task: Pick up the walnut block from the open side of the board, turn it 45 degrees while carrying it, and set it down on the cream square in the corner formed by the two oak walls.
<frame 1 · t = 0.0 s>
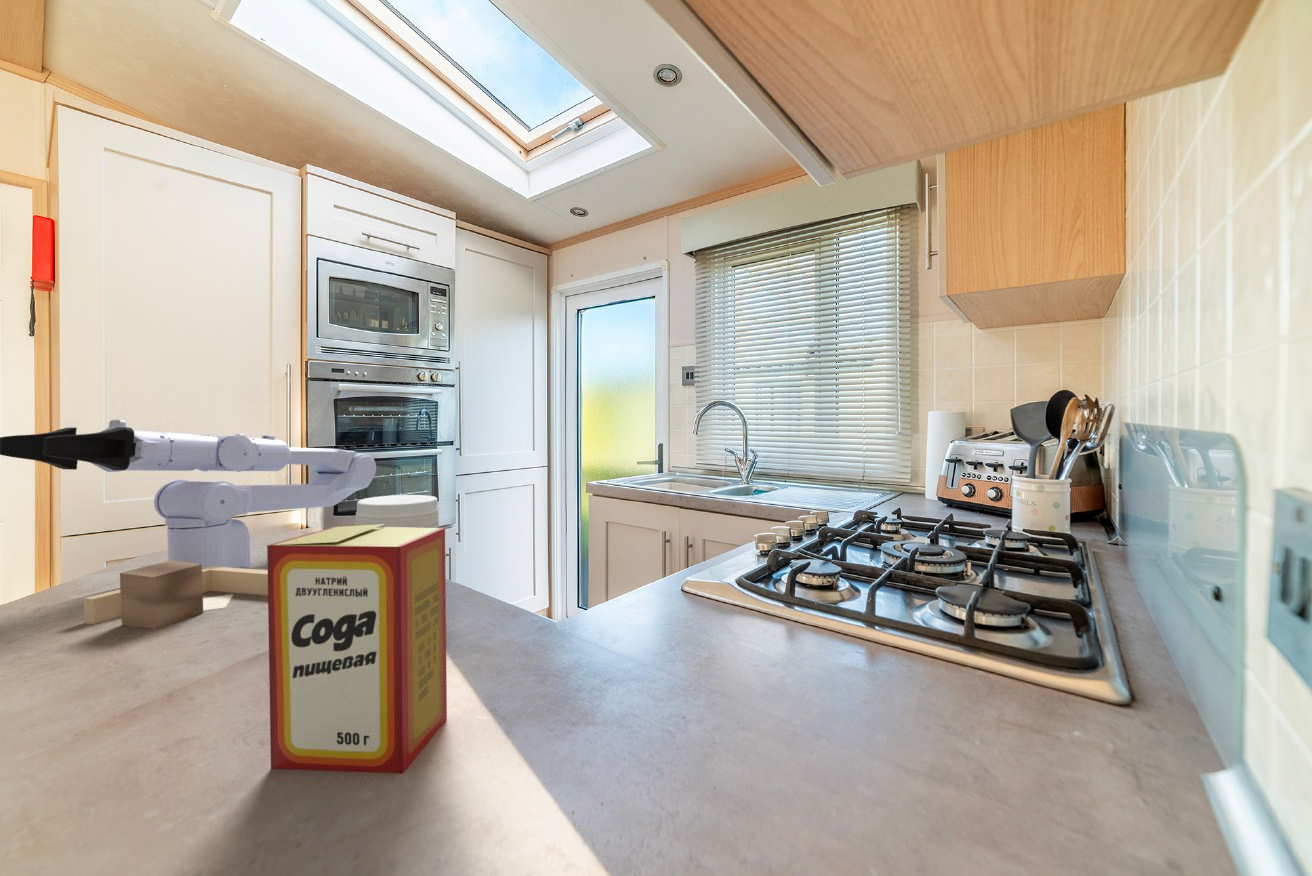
hand: (22, 445, 61), 22 cm above the countertop, tool horizontal, fingers open, 7 cm apart
baking soda box: (365, 744, 39), on the countertop
supplement tub: (398, 614, 66), on the countertop
corner board: (213, 619, 64), on the countertop
walnut block: (163, 618, 60), point 1 cm above the countertop, touching corner board
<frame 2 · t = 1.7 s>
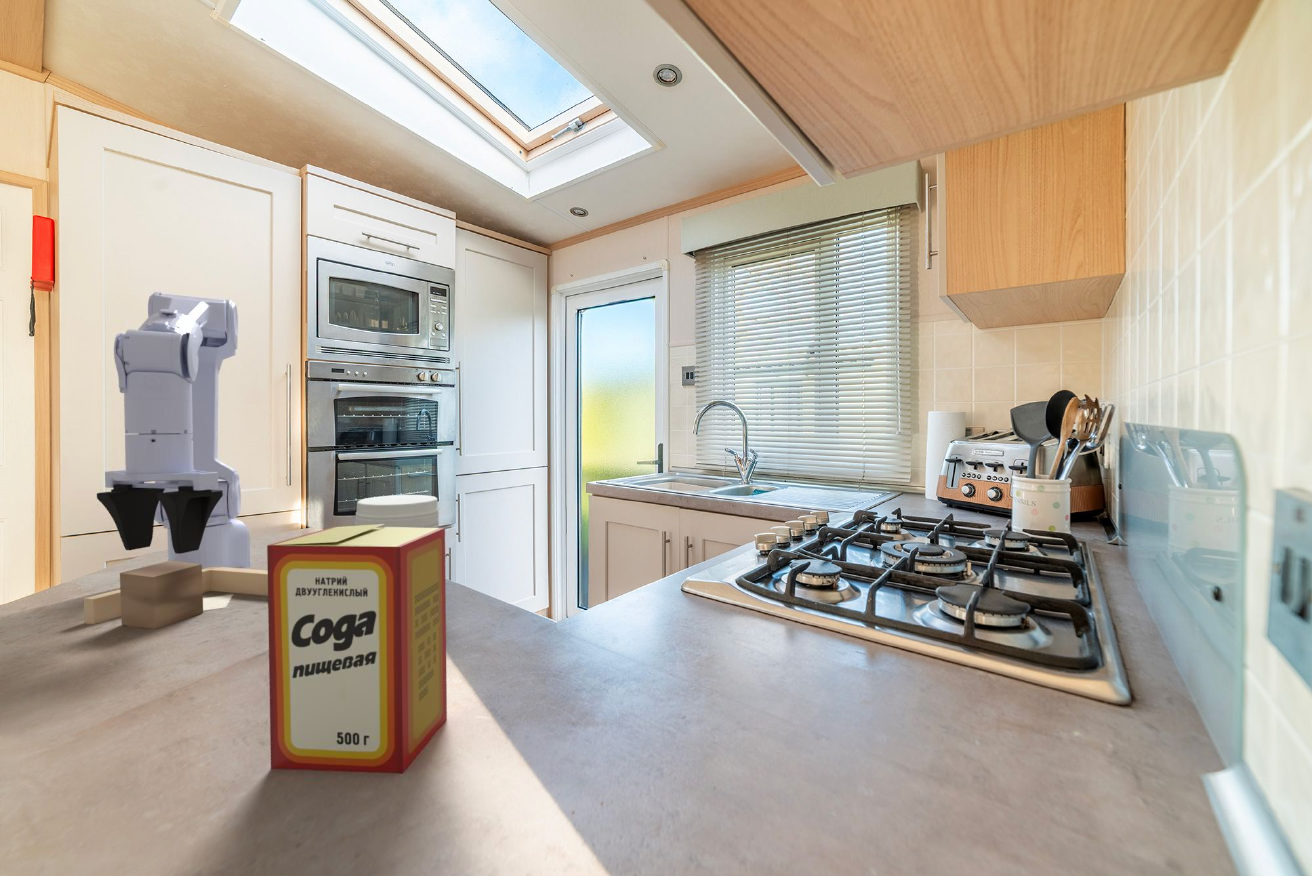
hand: (162, 550, 60), 9 cm above the countertop, tool pointing down, fingers open, 7 cm apart
nothing on the countertop moved.
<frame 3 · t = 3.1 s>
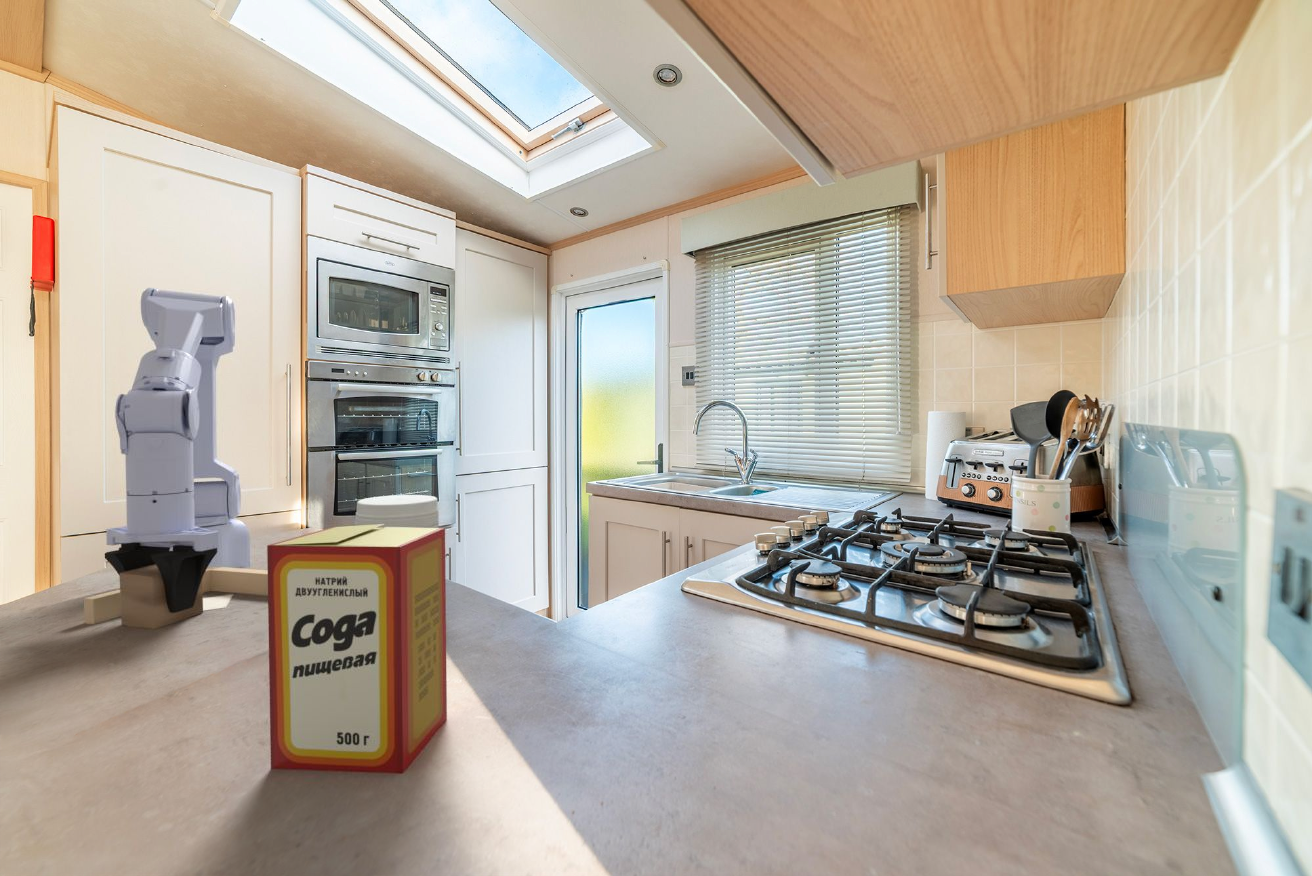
hand: (163, 608, 60), 3 cm above the countertop, tool pointing down, fingers closed on walnut block, 5 cm apart
walnut block: (163, 618, 60), point 1 cm above the countertop, touching corner board, gripper
everything else where it was.
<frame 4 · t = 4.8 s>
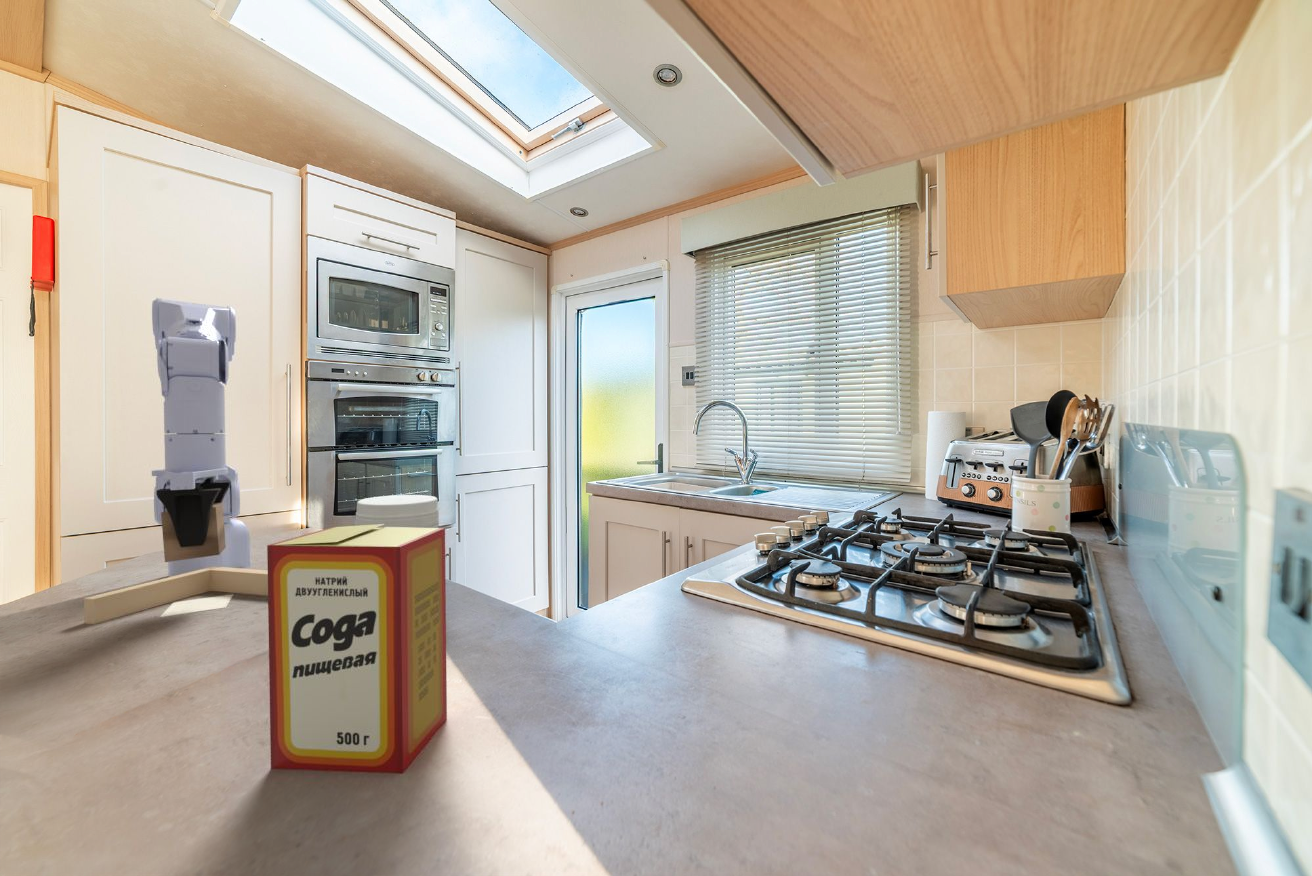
hand: (197, 541, 65), 9 cm above the countertop, tool pointing down, fingers closed on walnut block, 5 cm apart
walnut block: (197, 554, 65), point 8 cm above the countertop, touching gripper
everything else where it was.
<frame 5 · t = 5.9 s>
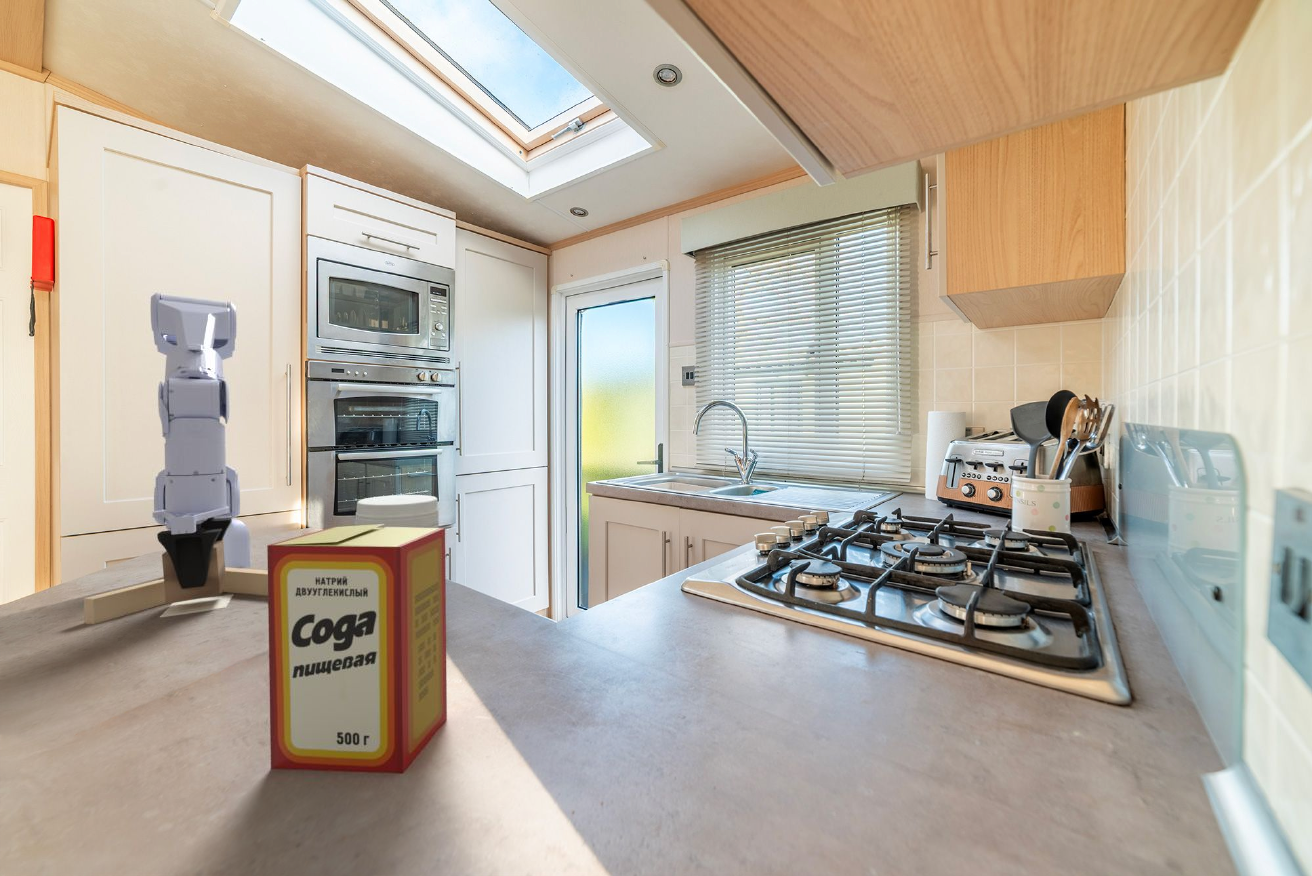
hand: (198, 581, 65), 4 cm above the countertop, tool pointing down, fingers closed on walnut block, 5 cm apart
walnut block: (197, 594, 65), point 3 cm above the countertop, touching gripper
everything else where it was.
when the fingers open (4 cm above the countertop, at t = 6.6 s): walnut block drops 1 cm, resting on corner board.
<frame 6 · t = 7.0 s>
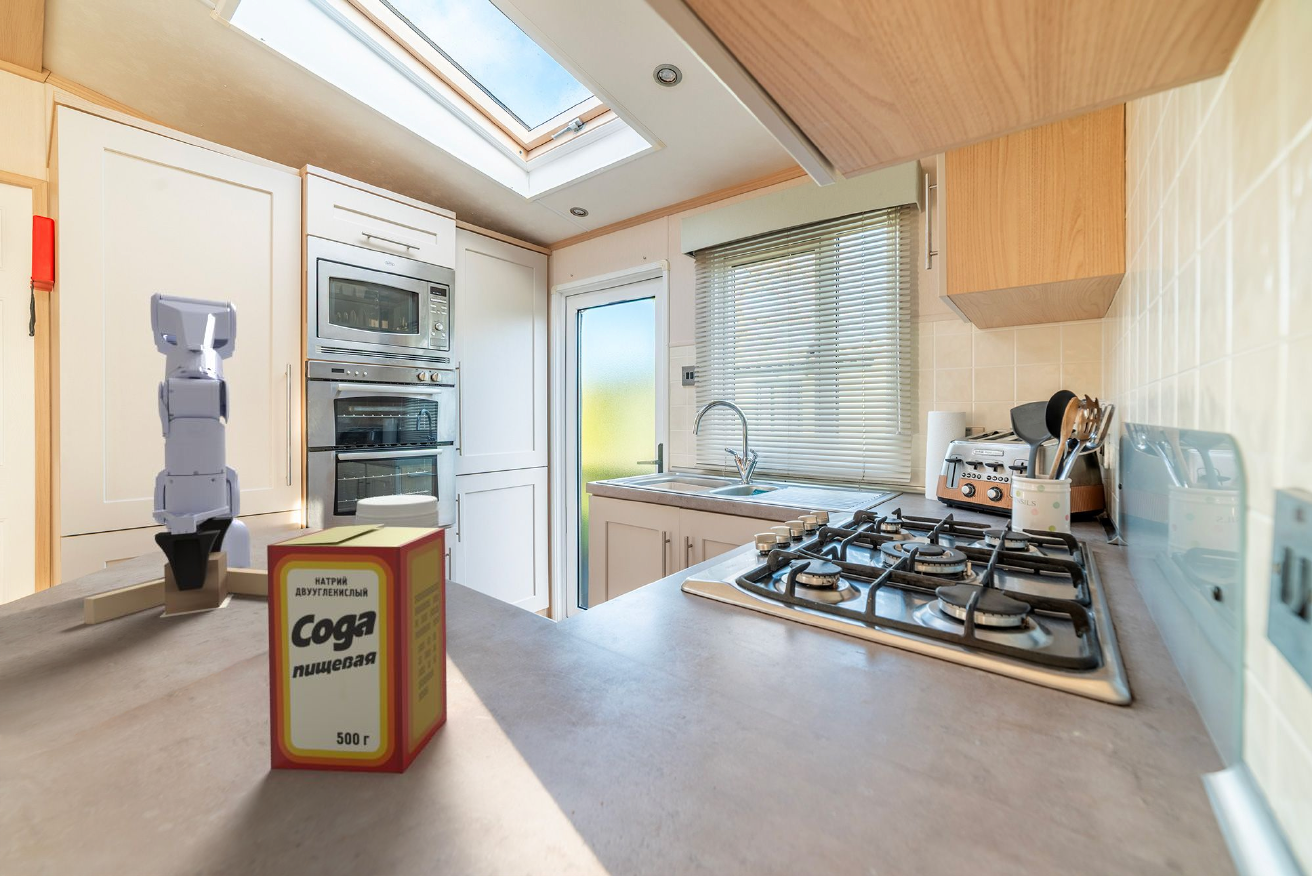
hand: (198, 581, 65), 4 cm above the countertop, tool pointing down, fingers open, 7 cm apart
walnut block: (198, 604, 65), point 1 cm above the countertop, touching corner board
everything else where it was.
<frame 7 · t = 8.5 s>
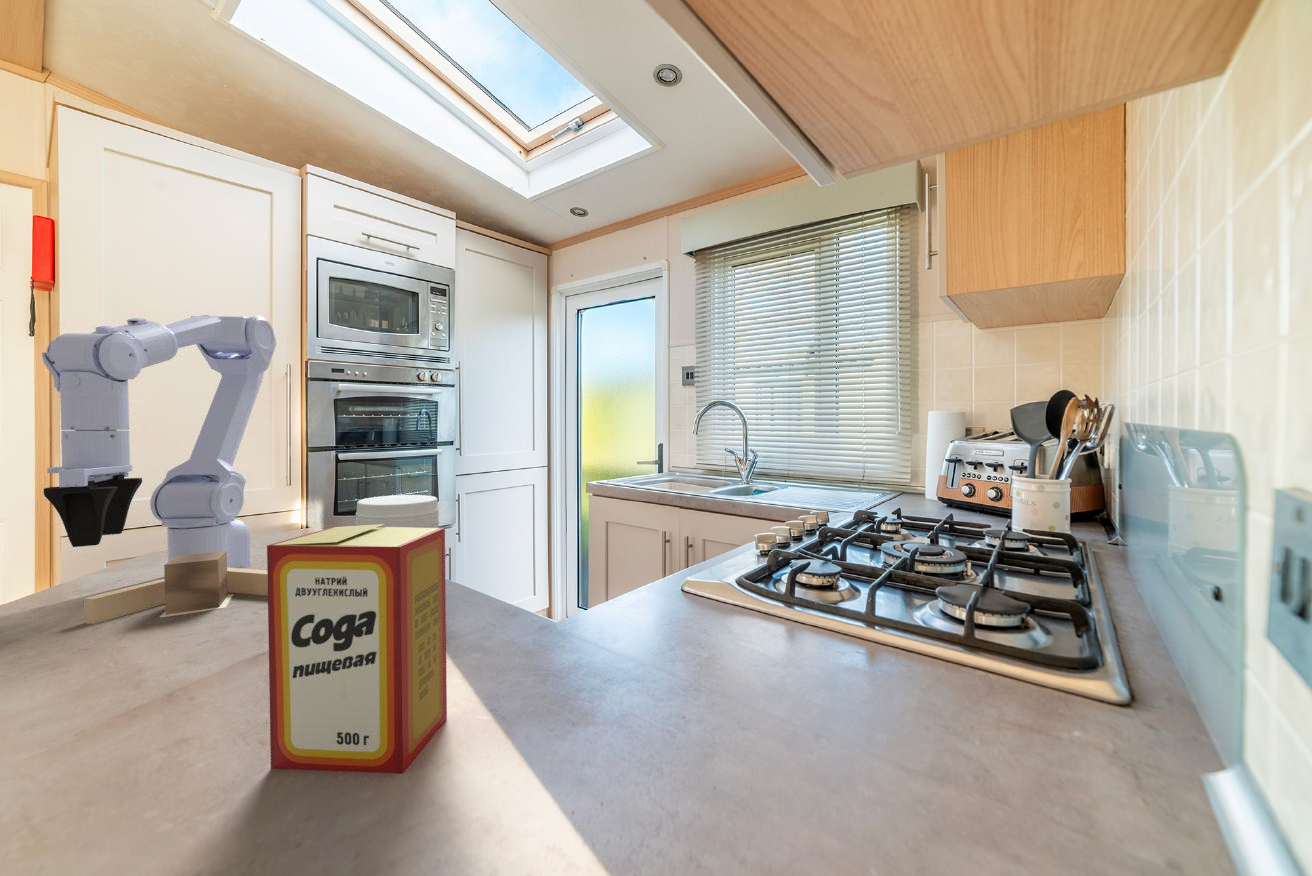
hand: (98, 539, 64), 10 cm above the countertop, tool pointing down, fingers open, 7 cm apart
nothing on the countertop moved.
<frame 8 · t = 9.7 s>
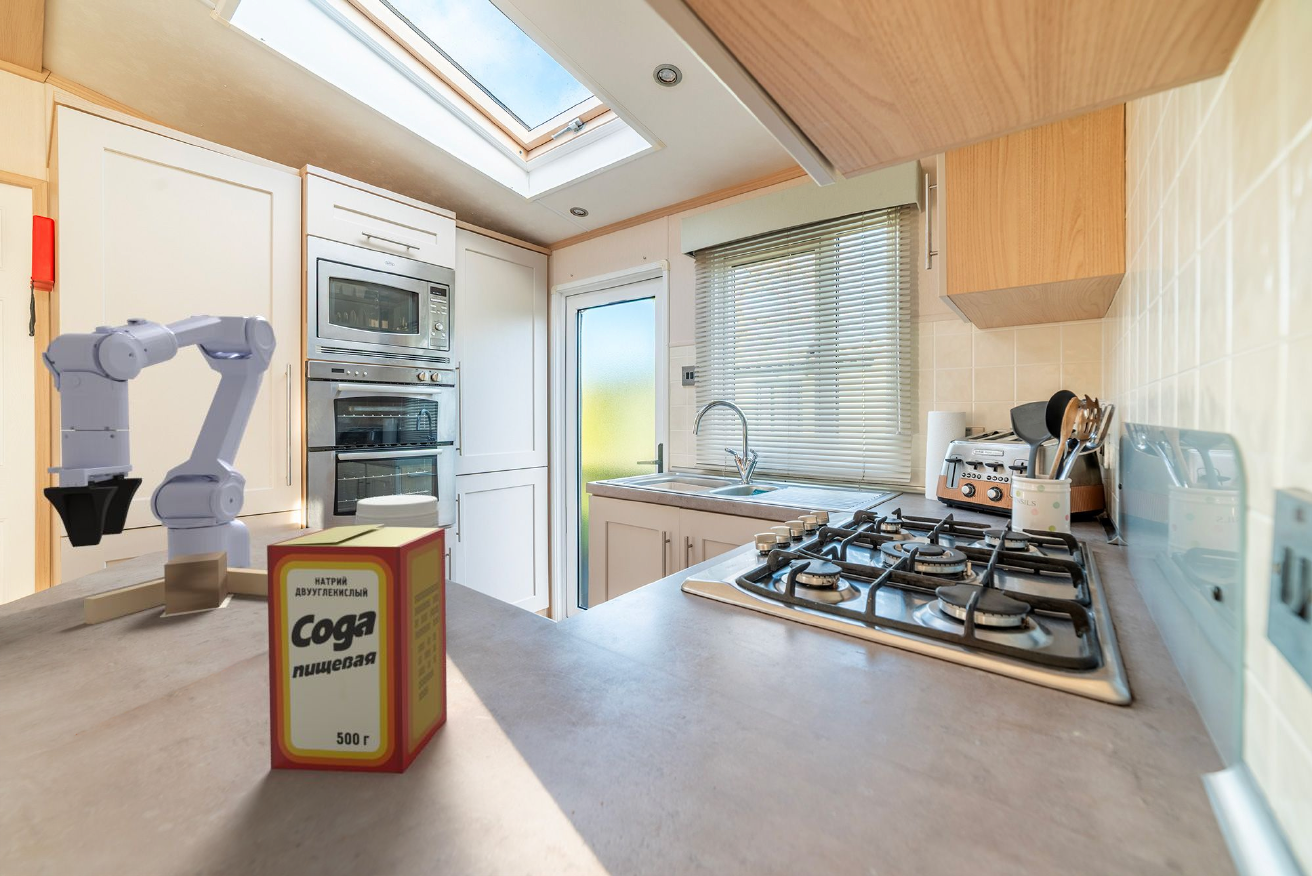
hand: (98, 539, 64), 10 cm above the countertop, tool pointing down, fingers open, 7 cm apart
nothing on the countertop moved.
at the end: walnut block 0.1 cm from the target spot, point 1.4 cm above the countertop; walnut block tilted 0°; the gripper is holding nothing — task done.
